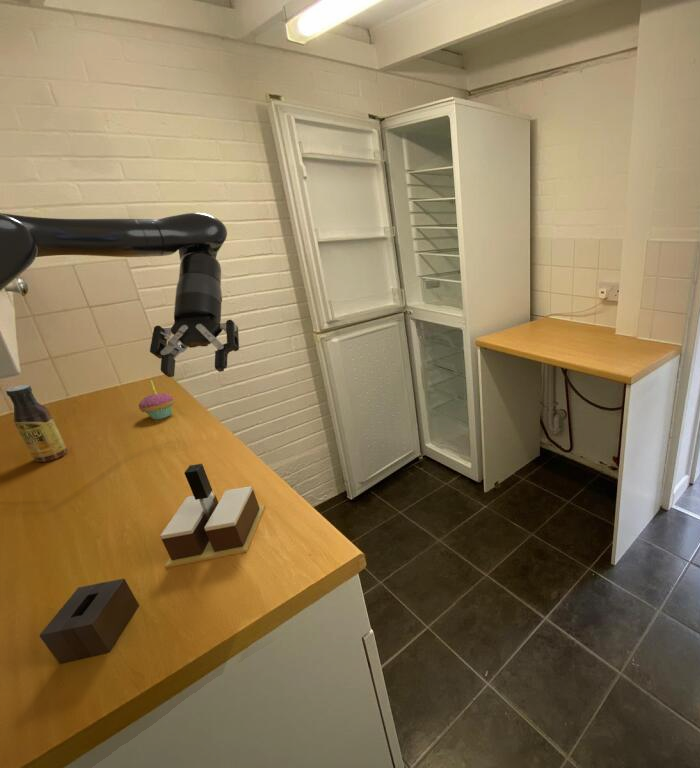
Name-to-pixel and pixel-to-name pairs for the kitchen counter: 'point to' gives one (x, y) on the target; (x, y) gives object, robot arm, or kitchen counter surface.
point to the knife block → (90, 621)
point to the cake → (212, 528)
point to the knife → (200, 488)
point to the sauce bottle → (36, 425)
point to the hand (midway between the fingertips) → (194, 372)
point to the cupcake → (157, 404)
